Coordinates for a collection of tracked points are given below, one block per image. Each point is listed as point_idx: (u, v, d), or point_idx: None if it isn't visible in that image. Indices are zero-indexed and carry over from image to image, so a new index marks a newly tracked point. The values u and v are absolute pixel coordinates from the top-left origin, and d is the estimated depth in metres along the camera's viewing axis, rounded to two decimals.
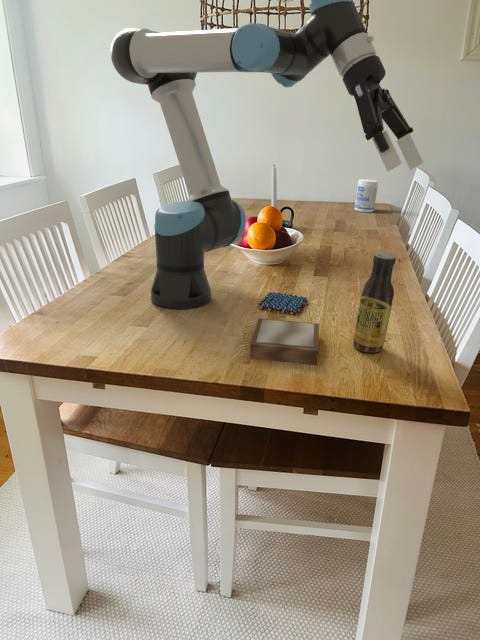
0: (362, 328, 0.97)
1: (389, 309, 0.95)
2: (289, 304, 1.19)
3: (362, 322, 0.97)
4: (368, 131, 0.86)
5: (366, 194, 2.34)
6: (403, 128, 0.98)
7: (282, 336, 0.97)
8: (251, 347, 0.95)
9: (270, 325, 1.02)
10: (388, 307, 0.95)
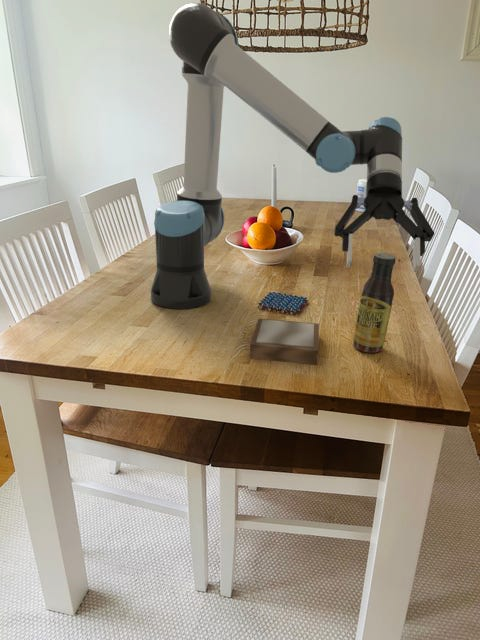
0: (362, 328, 0.97)
1: (389, 309, 0.95)
2: (289, 304, 1.19)
3: (362, 322, 0.97)
4: (432, 236, 1.02)
5: None
6: (352, 233, 1.05)
7: (282, 336, 0.97)
8: (251, 347, 0.95)
9: (270, 325, 1.02)
10: (388, 307, 0.95)
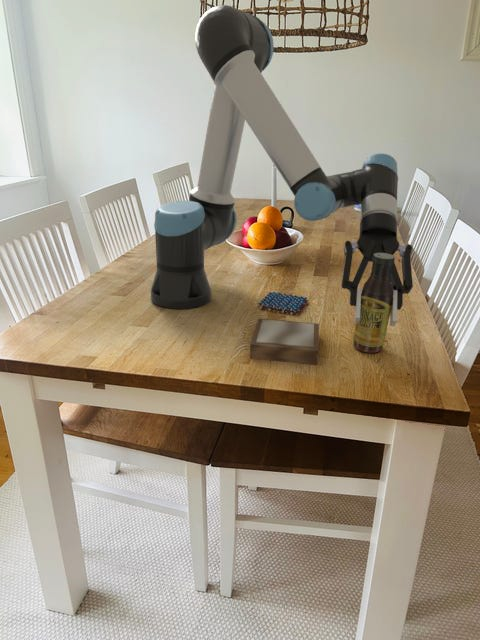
0: (362, 328, 0.97)
1: (389, 309, 0.95)
2: (289, 304, 1.19)
3: (362, 322, 0.97)
4: (410, 289, 0.96)
5: None
6: (358, 284, 0.99)
7: (282, 336, 0.97)
8: (251, 347, 0.95)
9: (270, 325, 1.02)
10: (387, 307, 0.95)
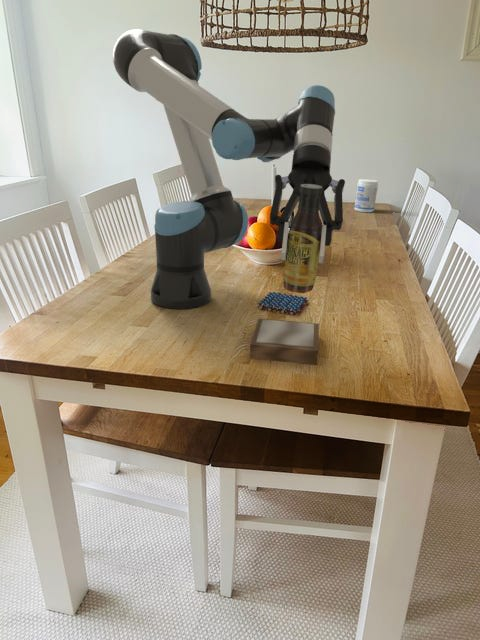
0: (290, 266, 0.92)
1: (317, 244, 0.90)
2: (289, 304, 1.19)
3: (289, 259, 0.91)
4: (341, 224, 0.91)
5: (366, 194, 2.34)
6: None
7: (282, 336, 0.97)
8: (251, 347, 0.95)
9: (270, 325, 1.02)
10: (315, 242, 0.89)
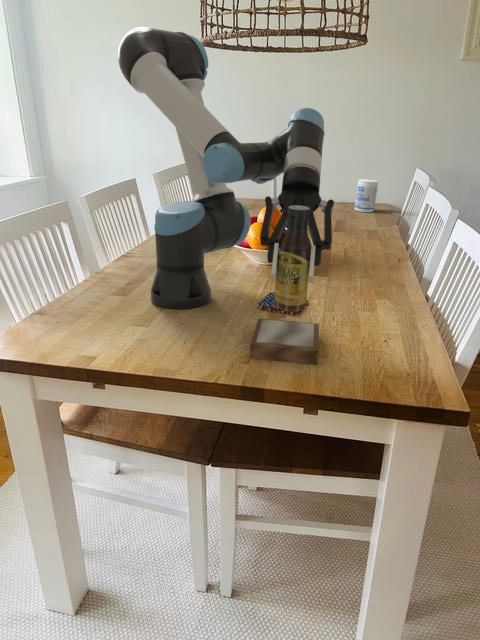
0: (280, 286, 0.93)
1: (306, 264, 0.91)
2: None
3: (280, 279, 0.93)
4: (330, 244, 0.92)
5: (366, 194, 2.34)
6: (278, 240, 0.95)
7: (282, 336, 0.97)
8: (251, 347, 0.95)
9: (270, 325, 1.02)
10: (305, 262, 0.90)
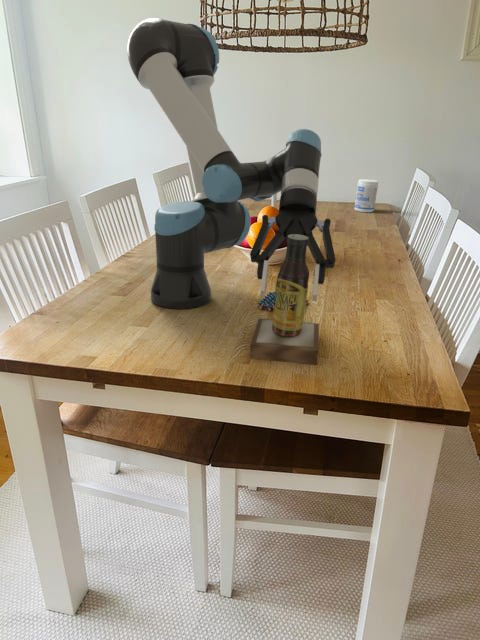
0: (278, 312, 0.95)
1: (304, 292, 0.93)
2: None
3: (277, 304, 0.95)
4: (333, 263, 0.94)
5: (366, 194, 2.34)
6: (268, 258, 0.97)
7: (282, 336, 0.97)
8: (251, 347, 0.95)
9: (270, 325, 1.02)
10: (302, 289, 0.93)
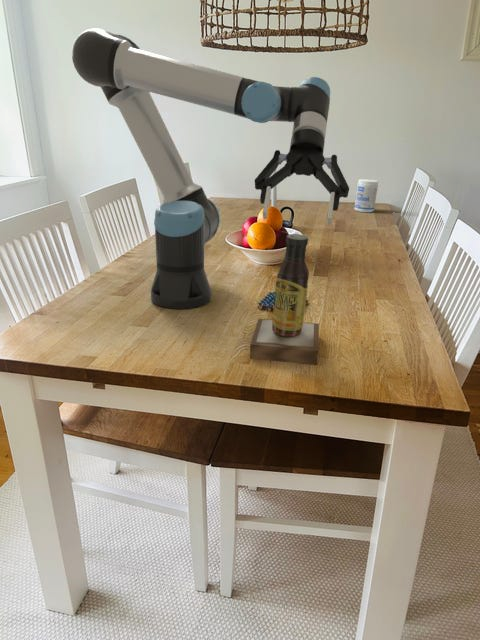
0: (277, 312, 0.95)
1: (303, 291, 0.93)
2: None
3: (277, 304, 0.95)
4: (347, 192, 1.04)
5: (366, 194, 2.34)
6: (271, 187, 1.07)
7: (282, 336, 0.97)
8: (251, 347, 0.95)
9: (270, 325, 1.02)
10: (302, 289, 0.93)
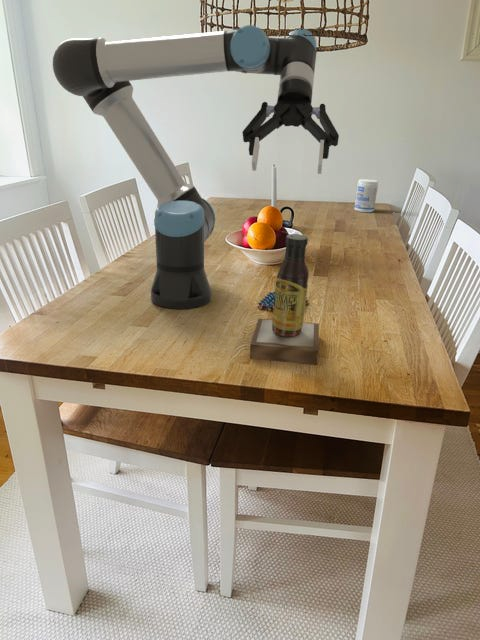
0: (277, 312, 0.95)
1: (303, 291, 0.93)
2: None
3: (277, 305, 0.95)
4: (337, 139, 1.02)
5: (366, 194, 2.34)
6: (260, 139, 1.05)
7: (282, 336, 0.97)
8: (251, 347, 0.95)
9: (270, 325, 1.02)
10: (301, 289, 0.93)
